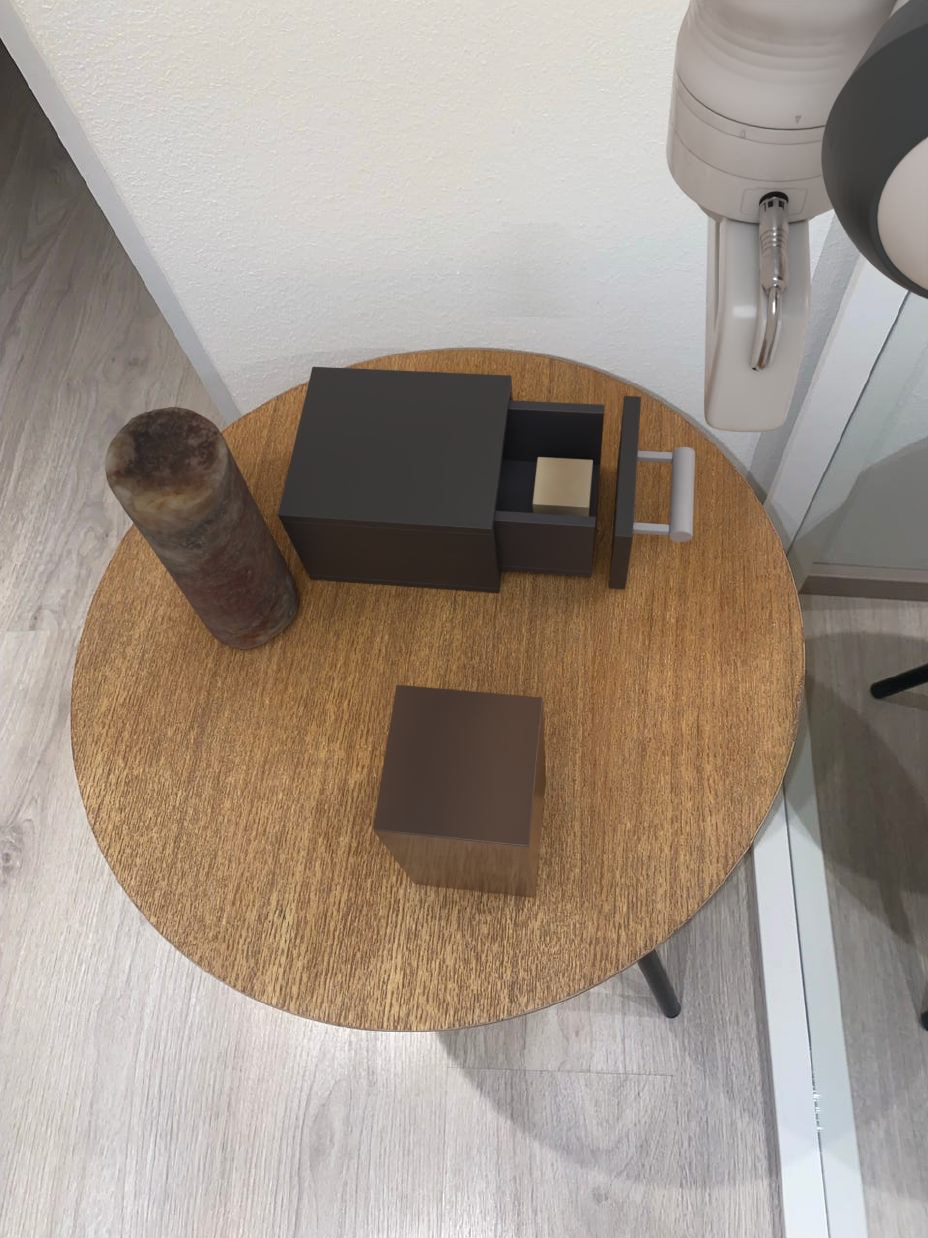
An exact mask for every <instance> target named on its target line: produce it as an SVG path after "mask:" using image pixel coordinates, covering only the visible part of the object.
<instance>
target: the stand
mask: <svg viewBox="0 0 928 1238" xmlns="http://www.w3.org/2000/svg"><path fill="white" fill-rule="evenodd" d="M391 710H392V711H391V716H390V722H389V729H388V735H387V741H386V747H385V752H384V753H385V754H384V759H383V766H382V771H381V778H380V783H379V790H378V796H377V803H376V808H375V813H374V814H375V815H374V821H373V827H372V831H373V832H374V833H375V834H376V836H377V837H378V839H379V840H380V841H381V843H382V844H383V845H384V846H385V848H386V850H388V852H389V853H390V854H391V856H392V857H393V858H394V860H395V861H396V862H397V863H398V865H399V866H400V867H401V869H402V870H403V871H404V872H405V874H406V875H407V877H408V878H409V879H410V880H411V882H412V884H414V885H419V886H426V887H435V888H442V889H443V888H444V889H453V890H461V891H462V890H463V891H470V892H480V893H489V894H497V895H505V896H512V897H513V896H515V897H523V898H531V899H535V898H536V891H537V882H538V881H537V880H538V871H539V858H540V850H541V849H540V848H541V838H542V837H541V836H542V828H543V827H542V826H543V815H544V803H545V793H546V785H547V769H546V766H547V765H546V741H545V738H546V737H545V715H544V711H545V709H544V698H543V697H542V696H531V695H520V694H509V693H496V692H495V693H494V692H486V691H471V690H461V689H451V688H450V689H449V688H438V687H427V686H417V685H416V686H414V685H404V684H396V686H395V692H394V697H393V705H392V709H391Z"/></svg>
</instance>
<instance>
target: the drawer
mask: <svg viewBox="0 0 928 1238" xmlns="http://www.w3.org/2000/svg"><path fill="white" fill-rule="evenodd" d="M641 407H642V397H641V396H636V395H624V397H623V403H622V411H621V412H622V413H621V423H620V430H619V431H620V432H619V443H618V453H617V463H616V476H615V478H616V479H615V491H614V506H613V520H612V535H611V551H610V564H609V578H608V589H612V590H622V591H623V590H626V588H627V580H628V573H629V565H630V561H631V560H630V558H631V552H632V545H633V537H634V534H637V535H638V534H639V535H650V536H651V535H652V536H653V535H654V536H668V538H669V539H670V540H671V541H672V542H675V543H687V542H690V541H691V540H692V539H693V535H694V534H693V533H694V507H695V505H694V503H695V502H694V501H695V500H694V499H695V473H696V472H695V471H696V451H695V450H694V449H693V448H692V447H689V446H679V447H676V448H675V449H673V451H656V450H655V451H653V450H652V451H651V450H639V442H640V441H639V440H640V424H641ZM604 420H605V404H599V403H597V404H596V403H575V402H558V401H557V402H556V401H555V402H554V401H536V400H535V401H534V400H515V399H513V400H510V401H509V409H508V417H507V425H506V432H505V440H504V448H503V456H502V464H501V471H500V479H499V487H498V495H497V503H496V510H495V518H494V533H495V542H496V551H497V560H498V568H499V570H500V571H502V572H515V573H529V574H542V575H543V574H544V575H559V576H571V577H572V576H574V577H587V578H591V577H592V575H593V563H594V549H595V537H596V524H597V513H598V501H599V500H598V499H599V489H600V488H599V486H600V476H601V475H600V474H601V473H600V472H601V463H602V461H601V460H602V448H603V433H604V422H605V421H604ZM538 457H548V458H566V459H584V460H593V471H592V488H591V501H590V513H589V517H588V516H572V515H556V514H540V513H533V505H532V503H533V494H534V485H535V476H536V467H537V458H538ZM639 462H642V463H660V464H671V475H670V476H671V479H670V499H669V500H670V501H669V505H670V506H669V523H668V524H667V523H665V524H664V523H650V522H649V523H648V522H635V507H636V506H635V505H636V491H637V490H636V488H637V474H638V463H639Z"/></svg>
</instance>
